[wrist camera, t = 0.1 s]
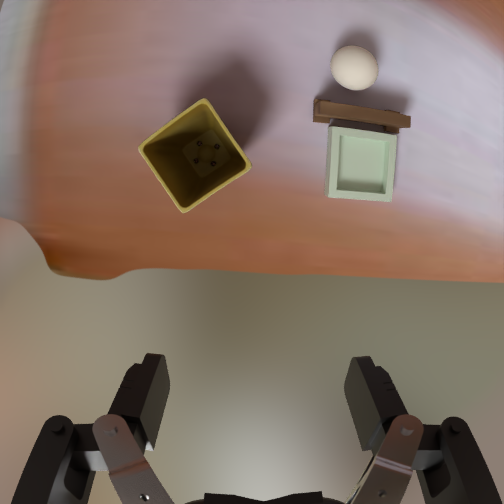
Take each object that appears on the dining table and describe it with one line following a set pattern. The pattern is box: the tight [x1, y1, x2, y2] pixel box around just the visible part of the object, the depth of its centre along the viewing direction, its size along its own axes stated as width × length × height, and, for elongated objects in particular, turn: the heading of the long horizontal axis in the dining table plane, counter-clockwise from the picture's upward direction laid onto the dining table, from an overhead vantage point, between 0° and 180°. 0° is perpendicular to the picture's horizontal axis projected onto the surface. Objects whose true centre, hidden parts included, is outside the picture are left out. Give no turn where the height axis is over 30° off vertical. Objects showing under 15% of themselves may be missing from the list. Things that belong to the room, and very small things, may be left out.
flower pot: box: [138, 98, 252, 213], centre depth 32 cm, size 9×9×9 cm
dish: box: [324, 126, 397, 202], centre depth 36 cm, size 9×9×2 cm
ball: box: [330, 46, 378, 90], centre depth 30 cm, size 6×6×6 cm
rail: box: [313, 99, 411, 133], centre depth 33 cm, size 3×12×4 cm, turn 89°
